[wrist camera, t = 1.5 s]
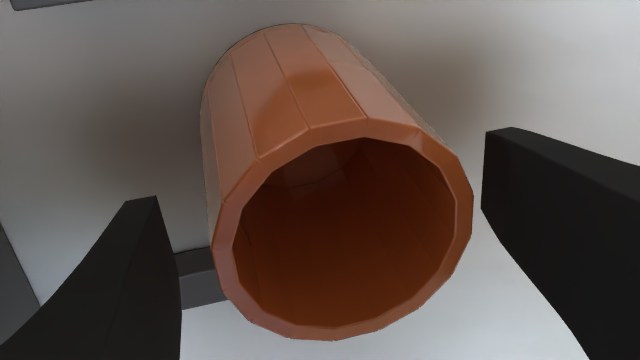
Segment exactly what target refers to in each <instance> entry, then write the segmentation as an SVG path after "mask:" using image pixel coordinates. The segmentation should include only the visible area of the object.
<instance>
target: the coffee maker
mask: <svg viewBox="0 0 640 360" xmlns="http://www.w3.org/2000/svg"><path fill="white" fill-rule="evenodd" d="M85 1H92V0H10V2H11V5H12V8H13V9H14V11H22V10H29V9H36V8H43V7H50V6H57V5H64V4H71V3H78V2H85ZM174 258H175V261H176V265H177V268H178V271H179V281H180V293H181V307H182V310H185V309H190V308H194V307H199V306H203V305H208V304H212V303H217V302H221V301H226V300H229V299H228V298H227V297H226V296H225V295H224V294H223V292H222V290H221V289H220V286H219V282H218V278H217V274H216V270H215V266H214V262H213V258H212V254H211V250H210V247H208V248H203V249H198V250H194V251H189V252H184V253H179V254H174ZM39 309H40V306H39V304H38V302H37V300H36V298H35V296H34V293H33V291H32V289H31V287H30V285H29V283H28V281H27V279H26V277H25V275H24V273H23V271H22V269H21V267H20V264H19V262H18V260H17V258H16V256H15V254H14V252H13V250H12V248H11V246H10V244H9V242H8V240H7V238H6V235H5V233H4V231H3V229H2V227H1V225H0V345H1V344H3V343H4V342H5V341H6V340H7V339H9V338H10V337H11V336H12V335H13V334H14V333H15V332H16V331H17V330H18V329H19V328H20V327H21V326H22V325H24V324H25V323H26V322H27V321H28V320H29V319H30V318H31V317H32V316H33V315H34V314H35V313H36V312H37V311H38V310H39Z"/></svg>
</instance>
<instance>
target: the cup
mask: <svg viewBox="0 0 640 360" xmlns="http://www.w3.org/2000/svg"><path fill="white" fill-rule="evenodd" d="M199 122H200V133H201V145H202V157H203V168H204V180H205V192H206V204H207V215H208V227H209V239H210V250H211V254H212V258H213V262H214V266H215V270H216V274H217V278H218V282H219V286H220V289H221V290H222V292H223V294H224V295H225V296H226V297H227V298H228V299H229V300H230V301H231V302H232V303H233V305H234V306H235V307H236V308H237V309H238V310H239V311H240V312H241V313H242V314H243V315H244V317H245V318H246V319H247V320H248V321H250V322H251V323H253V324H255V325H258V326H260V327H262V328H265V329H267V330H269V331H272V332H274V333H276V334H279V335H281V336H283V337H286V338H290V339H301V340H318V341H338V340H342V339H346V338H350V337H354V336H359V335H363V334H367V333H371V332H375V331H378V330H381V329H383V328H385V327H387V326H388V325H390V324H392V323H394V322H396V321H397V320H399V319H401V318H403V317H405V316H406V315H408V314H410V313H412V312H414V311H415V310H417V309H419V307H421V306H422V305H423V304H424V303H425V302H426V301H427V300H428V299H429V298H430V297H431V296H432V295H433V294H434V293H435V292H436V291H437V290H438V289H439V288H440V287H441V286H442V285H443V284H444V283H445V282H446V281H447V280H448V279H449V278H450V277H451V275H452V274H453V273H454V271H455V269H456V267H457V265H458V263H459V261H460V258H461V256H462V254H463V252H464V250H465V248H466V246H467V244H468V242H469V240H470V238H471V234H472V218H473V201H474V195H473V190H472V188H471V186H470V184H469V181H468V179H467V177H466V175H465V172H464V170H463V168H462V166H461V164H460V161H459V159H458V157H457V156H456V154H455V153H454V152H453V151H452V150H451V149H450V148H449V146H448V145H447V144H446V143H445V142H444V141H443V140H442V139H441V138H440V137H439V136H438V135H437V134H436V132H435V131H434V130H433V129H432V128H431V127H430V126H429V125H428V124H427V123H426V122H425V121H424V120H423V119H422V117H421V116H420V115H419V114H418V113H417V112H416V111H415V110H414V109H413V108H412V107H411V106H410V105H409V103H408V102H407V101H406V100H405V99H404V98H403V97H402V96H401V95H400V94H399V93H398V92H397V91H396V90H395V88H394V87H393V86H392V85H391V84H390V83H389V82H388V81H387V80H386V79H385V78H384V77H383V76H382V74H381V73H380V72H379V71H378V70H377V69H376V68H375V67H374V66H373V65H372V64H371V63H370V62H369V61H368V59H367V58H366V57H365V56H363V55H362V54H361V53H360V52H358V51H357V50H356V49H355V48H354V47H353V46H352V45H351V44H350V43H349V42H347V41H346V40H344V39H343V38H342V37H340V36H339V35H337V34H335V33H333V32H331V31H329V30H326V29H323V28H320V27H317V26H311V25H306V24H284V25H277V26H273V27H268V28H265V29H262V30H260V31H257V32H255V33H253V34H251V35H249V36H247V37H245V38H243V39H242V40H241V41H239V42H238V43H236V44H235V45H234V46H232V47H231V48H230V49H229V50H228V51H227V52H226V53H225V54H224V55H223V56H222V58H221V59H220V60H219V61H218V62H217V64H216V65H215V67H214V68H213V70H212V72H211V73H210V75H209V78H208V80H207V82H206V84H205V88H204V91H203V95H202V100H201V113H200V121H199Z"/></svg>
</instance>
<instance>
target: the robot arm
mask: <svg viewBox="0 0 640 360" xmlns="http://www.w3.org/2000/svg"><path fill="white" fill-rule="evenodd" d="M481 210H482V212H483V214H484V215H485V217H486V219H487V221H488V223H489V224H490V226H491V228H492V230H493V231H494V233H495V234H496V236H497V238H498V239H499V241H500V243H501V244H502V245H503V246H504V248H505V249H506V250H507V252H508V253H509V254H510V255H511V257H512V258H513V259H514V260H515V262H516V263H517V264H518V265H519V267H520V268H521V269H522V270H523V272H524V273H525V274H526V275H527V276H528V278H529V279H530V280H531V281H532V283H533V284H534V285H535V286H536V287H537V289H538V290H539V291H540V292H541V294H542V295H543V296H544V297H545V298H546V300H547V301H548V302H549V303H550V305H551V306H552V307H553V308H554V309H555V311H556V312H557V313H558V314H559V316H560V317H561V318H562V320H563V321H564V322H565V324H566V325H567V326H568V328H569V329H570V330H571V332H572V333H573V335H574V336H575V338H576V339H577V341H578V342H579V344H580V345H581V347H582V349H583V350H584V352H585V353H586V355H587V356H588V358H589V359H590V360H640V166H637V165H634V164H630V163H626V162H623V161H620V160H617V159H613V158H610V157H607V156H604V155H601V154H598V153H595V152H592V151H588V150H585V149H582V148H580V147H577V146H574V145H571V144H568V143H565V142H562V141H559V140H556V139H553V138H550V137H547V136H544V135H541V134H537V133H534V132H531V131H527V130H524V129H520V128H515V127H508V128H503V129H497V130H492V131H487V132H486V135H485V150H484V164H483V179H482V194H481ZM181 323H182V307H181V293H180V281H179V271H178V268H177V265H176V261H175V258H174V255H173V251H172V248H171V244H170V241H169V238H168V234H167V231H166V227H165V224H164V221H163V217H162V214H161V210H160V207H159V204H158V200H157V197H156V195H155V196H150V197H145V198H139V199H134V200H129V201H125V203H124V204H123V205H122V207H121V208H120V209H119V211H118V212H117V213H116V215H115V216H114V218H113V219H112V220H111V222H110V223H109V225H108V226H107V227H106V229H105V230H104V232H103V233H102V234H101V236H100V237H99V239H98V240H97V241H96V243H95V244H94V245H93V247H92V248H91V249H90V251H89V252H88V253H87V255H86V256H85V257H84V259H83V260H82V261H81V262H80V264H79V265H78V266H77V267H76V268H75V270H74V271H73V272H72V273H71V274H70V275H69V277H68V278H67V279H66V280H65V281H64V282H63V284H62V285H61V286H60V287H59V288H58V290H57V291H56V292H55V293H54V294H53V295H52V296H51V297H50V298H49V300H48V301H47V302H46V303H45V304H44V305H43V306H42V307H41V308H40V309H39V310H38V311H37V312H36V313H35V314H34V315H33V316H32V317H31V318H30V319H29V320H28V321H27V322H26V323H25V324H24V325H22V326H21V327H20V328H19V329H18V330H17V331H16V332H15V333H14V334H13V335H12V336H11V337H10V338H9V339H7V340H6V341H5V342H4V343H3V344H1V345H0V360H179V359H180V342H181Z"/></svg>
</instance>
